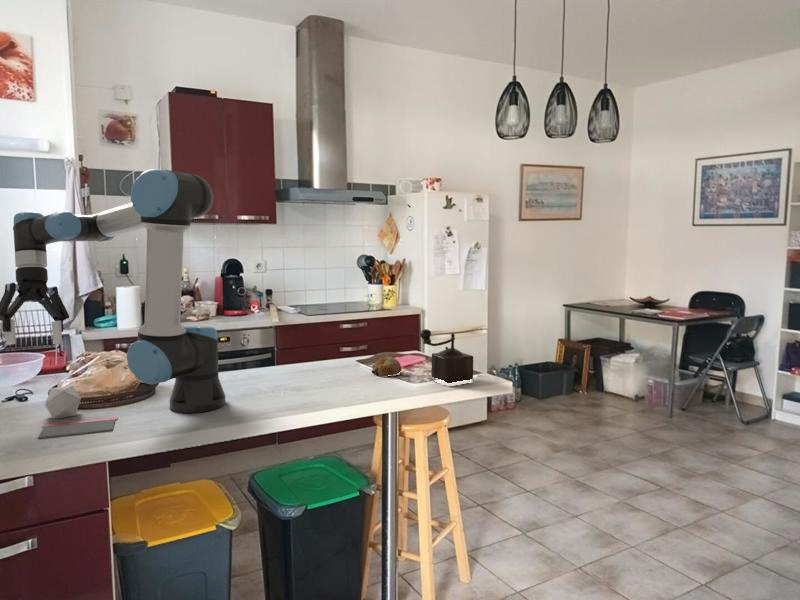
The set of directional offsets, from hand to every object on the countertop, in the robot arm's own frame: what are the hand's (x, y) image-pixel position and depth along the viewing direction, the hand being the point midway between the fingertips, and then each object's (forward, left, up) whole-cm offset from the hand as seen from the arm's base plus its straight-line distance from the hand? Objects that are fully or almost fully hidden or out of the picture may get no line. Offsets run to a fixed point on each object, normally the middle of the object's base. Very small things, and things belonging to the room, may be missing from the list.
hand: (35, 344), depth 159 cm
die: (-7, +9, -19) cm, 22 cm away
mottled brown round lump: (-105, -4, -19) cm, 107 cm away
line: (-12, +17, -18) cm, 28 cm away
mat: (-12, +23, -18) cm, 32 cm away
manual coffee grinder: (-119, +14, -19) cm, 121 cm away
